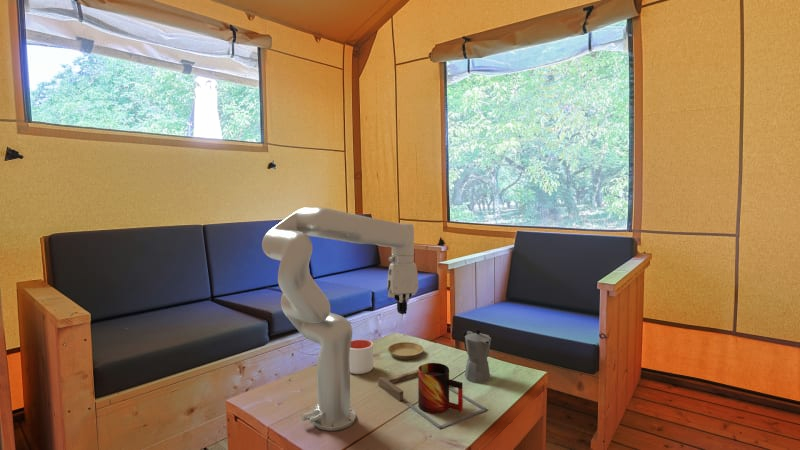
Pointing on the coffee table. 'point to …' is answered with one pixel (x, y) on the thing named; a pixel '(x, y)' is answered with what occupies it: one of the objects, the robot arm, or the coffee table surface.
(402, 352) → the plant saucer
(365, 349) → the cup
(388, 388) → the frame
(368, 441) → the coffee table surface
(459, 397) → the mug
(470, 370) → the coffeepot
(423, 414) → the frame
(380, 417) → the coffee table surface
